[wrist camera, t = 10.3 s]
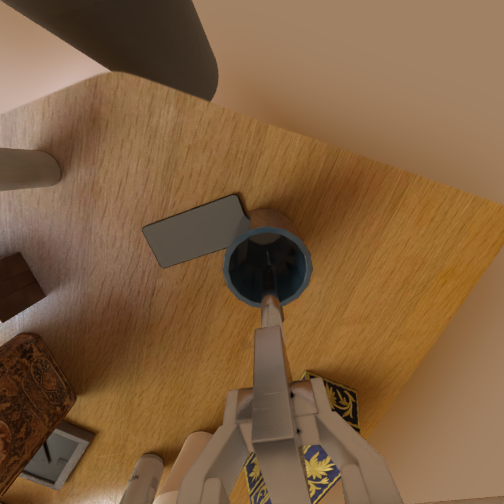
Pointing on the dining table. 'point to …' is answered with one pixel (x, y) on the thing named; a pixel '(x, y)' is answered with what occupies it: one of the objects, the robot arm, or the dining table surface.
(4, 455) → the book
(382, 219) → the dining table surface
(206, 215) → the smartphone
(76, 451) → the picture frame
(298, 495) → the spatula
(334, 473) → the decorative box
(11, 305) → the utensil block
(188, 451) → the cup
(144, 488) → the energy drink can
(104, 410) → the dining table surface
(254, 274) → the grey coffee mug
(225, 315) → the dining table surface
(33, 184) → the grey hollow cylinder
